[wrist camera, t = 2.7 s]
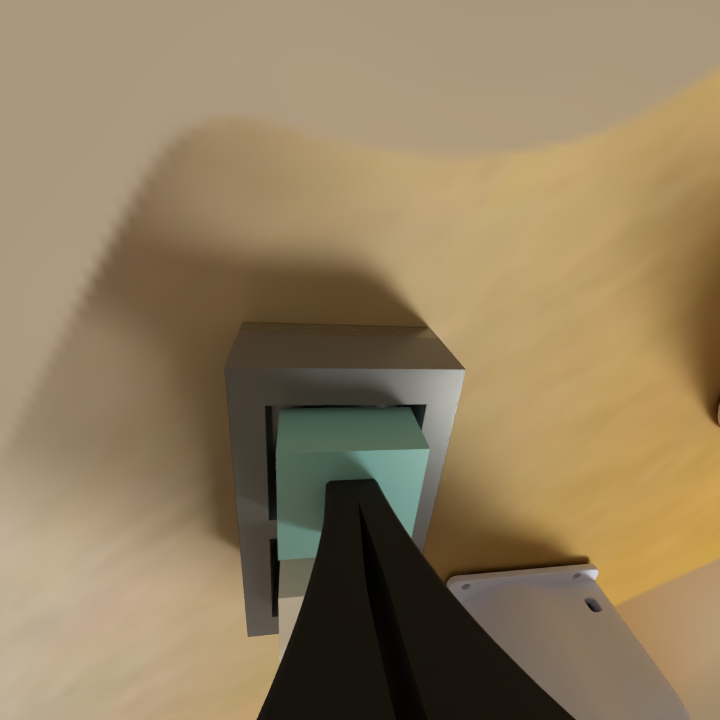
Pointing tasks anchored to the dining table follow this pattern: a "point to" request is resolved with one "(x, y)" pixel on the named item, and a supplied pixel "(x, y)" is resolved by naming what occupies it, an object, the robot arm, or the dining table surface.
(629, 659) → the robot arm
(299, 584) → the key cream
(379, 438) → the key teal
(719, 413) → the supplement bottle
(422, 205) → the dining table surface
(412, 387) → the bezel
